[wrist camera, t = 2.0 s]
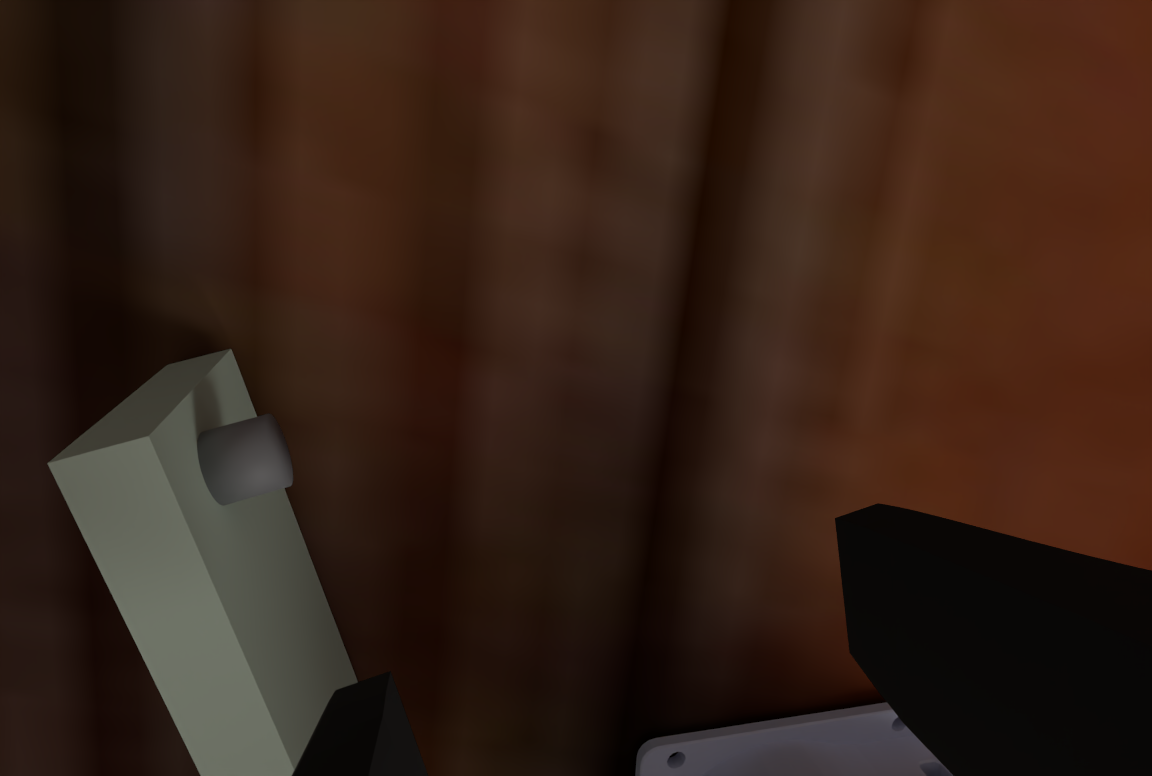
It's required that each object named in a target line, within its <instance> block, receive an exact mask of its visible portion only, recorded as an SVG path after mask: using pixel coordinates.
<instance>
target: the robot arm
mask: <svg viewBox="0 0 1152 776" xmlns="http://www.w3.org/2000/svg"><path fill="white" fill-rule="evenodd" d="M835 523H836V532H837V541H838V550H839V559H840V568H841V577H842V587H843V596H844V605H845V614H846V623H847V632H848V641H849V651H850V654H851V655H852V656H853V658H854V659H855V661H856V662H857V663H858V665H859V666H860V667H861V669H862V670H863V671H864V673H865V674H866V675H867V677H868V678H869V679H870V681H871V682H872V684H873V685H874V686H875V688H876V689H877V690H878V692H879V693H880V694H881V695H882V697H883V698H884V699H885V700H886V702H885V703H879V704H873V705H866V706H860V707H853V708H847V709H840V710H834V711H827V712H821V713H814V714H808V715H801V716H795V717H788V718H782V719H775V720H769V721H762V722H756V723H749V724H743V725H736V726H730V727H723V728H717V729H710V730H704V731H697V732H691V733H684V734H678V735H671V736H665V737H658V738H654V739H651V740H648V741H647V742H645V743H644V744H643V745H642V746H641V748H640V749H639V750H638V754H637V760H636V773H635V776H1152V571H1151V570H1146V569H1142V568H1137V567H1133V566H1129V565H1125V564H1120V563H1116V562H1112V561H1108V560H1104V559H1100V558H1095V557H1091V556H1087V555H1083V554H1079V553H1075V552H1071V551H1067V550H1063V549H1060V548H1056V547H1052V546H1048V545H1044V544H1040V543H1036V542H1032V541H1029V540H1025V539H1021V538H1017V537H1014V536H1010V535H1006V534H1002V533H998V532H995V531H991V530H987V529H983V528H980V527H976V526H972V525H968V524H965V523H961V522H957V521H953V520H949V519H946V518H942V517H938V516H934V515H930V514H926V513H922V512H918V511H913V510H909V509H904V508H900V507H895V506H890V505H884V504H875V505H872V506H869V507H866V508H863V509H861V510H858V511H855V512H852V513H849V514H846V515H843V516H840V517H837V518H835ZM675 752H678V753H677V754H676V755H675V756H673V757H670V756H671V755H672V754H673V753H675ZM669 757H670V758H669ZM292 776H428V774H427V771H426V768H425V766H424V763H423V760H422V757H421V755H420V752H419V749H418V746H417V743H416V741H415V738H414V735H413V732H412V730H411V727H410V724H409V721H408V718H407V716H406V713H405V710H404V707H403V705H402V702H401V699H400V696H399V693H398V691H397V688H396V685H395V682H394V680H393V677H392V674H391V671H390V672H387V673H384V674H381V675H378V676H375V677H372V678H369V679H366V680H363V681H361V682H358V683H355V684H352V685H349V686H346V687H343V688H340V689H337V690H335V692H334V693H333V695H332V697H331V698H330V700H329V702H328V704H327V706H326V708H325V710H324V712H323V714H322V716H321V718H320V720H319V722H318V724H317V726H316V728H315V730H314V732H313V734H312V736H311V738H310V740H309V742H308V744H307V746H306V748H305V750H304V752H303V754H302V756H301V758H300V760H299V762H298V764H297V766H296V768H295V770H294V772H293V774H292Z"/></svg>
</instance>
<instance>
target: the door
mask: <svg viewBox="0 0 1152 776" xmlns="http://www.w3.org/2000/svg"><path fill="white" fill-rule="evenodd" d="M47 464H48V466H49V468H50V470H51V472H52V474H53V476H54V478H55V480H56V482H57V484H58V486H59V488H60V490H61V492H62V494H63V496H64V498H65V500H66V502H67V504H68V506H69V508H70V510H71V513H72V515H73V517H74V519H75V521H76V523H77V525H78V527H79V529H80V531H81V533H82V535H83V537H84V539H85V541H86V543H87V545H88V547H89V549H90V551H91V553H92V555H93V557H94V559H95V561H96V563H97V565H98V568H99V570H100V572H101V574H102V576H103V578H104V580H105V582H106V584H107V586H108V588H109V590H110V592H111V594H112V596H113V598H114V600H115V602H116V604H117V606H118V608H119V610H120V612H121V614H122V616H123V618H124V621H125V623H126V625H127V627H128V629H129V631H130V633H131V635H132V637H133V639H134V641H135V643H136V645H137V647H138V649H139V651H140V653H141V655H142V657H143V659H144V661H145V663H146V665H147V667H148V669H149V671H150V673H151V676H152V678H153V680H154V682H155V684H156V686H157V688H158V690H159V692H160V694H161V696H162V698H163V700H164V702H165V704H166V706H167V708H168V710H169V712H170V714H171V716H172V718H173V720H174V722H175V724H176V726H177V728H178V731H179V733H180V735H181V737H182V739H183V741H184V743H185V745H186V747H187V749H188V751H189V753H190V755H191V757H192V759H193V761H194V763H195V765H196V767H197V769H198V771H199V773H200V775H201V776H292V774H293V772H294V770H295V768H296V766H297V764H298V762H299V760H300V758H301V756H302V754H303V752H304V750H305V748H306V746H307V744H308V742H309V740H310V738H311V736H312V734H313V732H314V730H315V728H316V726H317V724H318V722H319V720H320V718H321V716H322V714H323V712H324V710H325V708H326V706H327V704H328V702H329V700H330V698H331V697H332V695H333V693H334V692H335V690H337V689H340V688H343V687H346V686H349V685H352V684H355V683H358V681H357V678H356V676H355V673H354V671H353V668H352V665H351V663H350V660H349V657H348V655H347V652H346V649H345V647H344V644H343V642H342V639H341V636H340V634H339V631H338V628H337V626H336V623H335V621H334V618H333V615H332V613H331V610H330V607H329V605H328V602H327V599H326V597H325V594H324V592H323V589H322V586H321V584H320V581H319V578H318V576H317V573H316V570H315V568H314V565H313V563H312V560H311V557H310V555H309V552H308V549H307V547H306V544H305V542H304V539H303V536H302V534H301V531H300V528H299V526H298V523H297V520H296V518H295V515H294V513H293V510H292V507H291V505H290V502H289V499H288V497H287V494H286V492H285V489H284V488H286V487H290V486H291V485H292V482H293V469H292V463H291V458H290V454H289V450H288V446H287V443H286V440H285V437H284V435H283V432H282V430H281V428H280V426H279V424H278V422H277V420H276V419H275V418H274V416H273V415H271V414H265V415H261V416H258V417H257V415H256V413H255V410H254V407H253V405H252V402H251V399H250V397H249V394H248V391H247V389H246V386H245V384H244V381H243V378H242V376H241V373H240V370H239V368H238V365H237V363H236V360H235V357H234V355H233V352H232V349H227V350H223V351H220V352H216V353H212V354H208V355H204V356H200V357H196V358H192V359H188V360H184V361H180V362H176V363H172V364H169V365H166V366H165V367H164V368H163V369H161V370H160V371H159V372H158V373H157V374H155V375H154V376H153V377H152V378H151V379H149V380H148V381H147V382H146V383H144V384H143V385H142V386H141V387H140V388H138V389H137V390H136V391H135V392H133V393H132V394H131V395H130V396H129V397H127V398H126V399H125V400H124V401H123V402H121V403H120V404H119V405H118V406H116V407H115V408H114V409H113V410H112V411H110V412H109V413H108V414H107V415H106V416H104V417H103V418H102V419H101V420H99V421H98V422H97V423H96V424H95V425H93V426H92V427H91V428H90V429H89V430H87V431H86V432H85V433H84V434H82V435H81V436H80V437H79V438H78V439H76V440H75V441H74V442H73V443H71V444H70V445H69V446H68V447H67V448H65V449H64V450H63V451H62V452H61V453H59V454H58V455H57V456H56V457H54V458H53V459H52V460H51V461H50V462H48V463H47Z"/></svg>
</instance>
